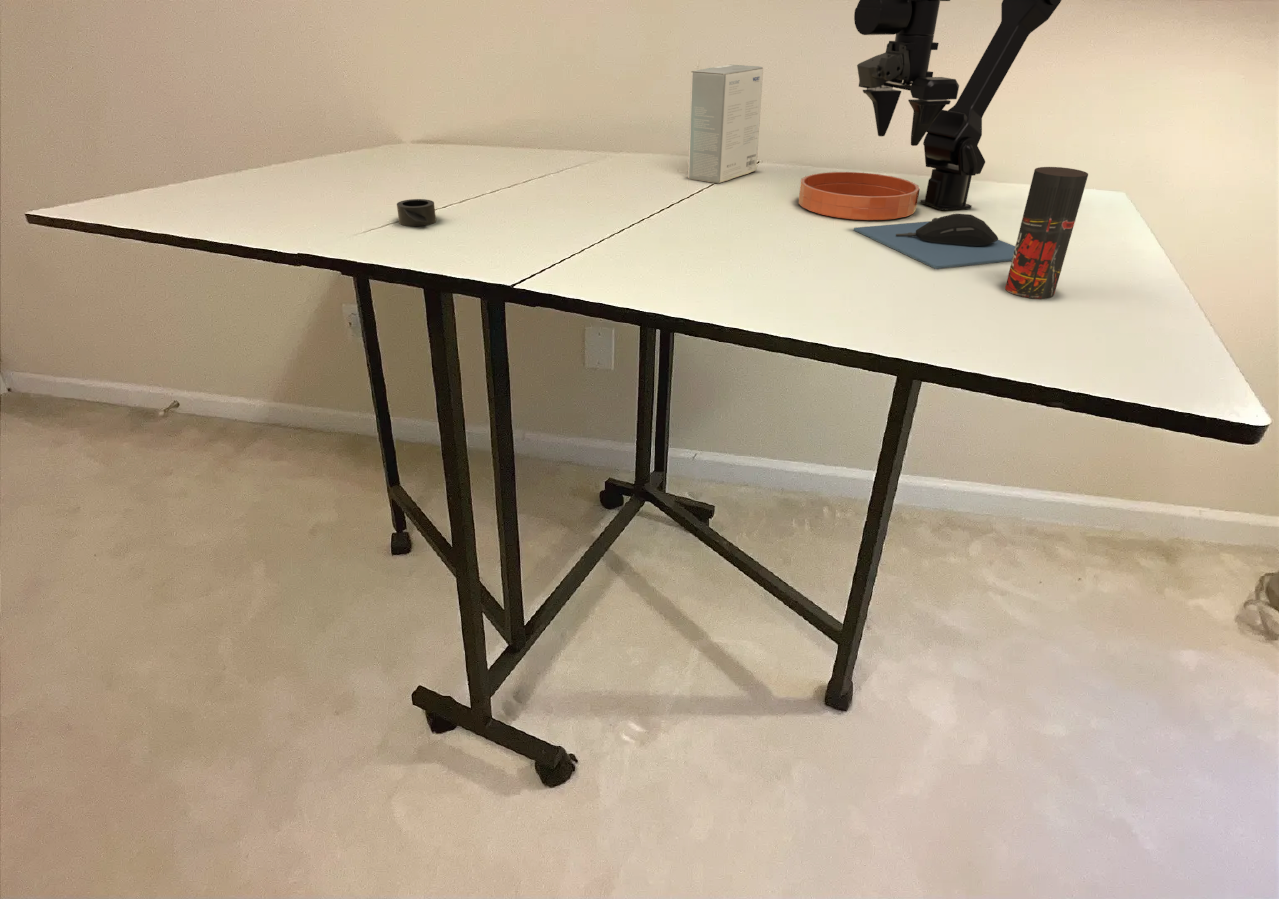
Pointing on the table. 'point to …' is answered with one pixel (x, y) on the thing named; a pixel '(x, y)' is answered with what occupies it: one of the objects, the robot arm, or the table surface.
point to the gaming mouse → (956, 231)
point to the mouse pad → (937, 247)
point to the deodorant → (1045, 231)
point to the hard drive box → (724, 122)
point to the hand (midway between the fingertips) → (897, 140)
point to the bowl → (858, 195)
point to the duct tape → (416, 212)
